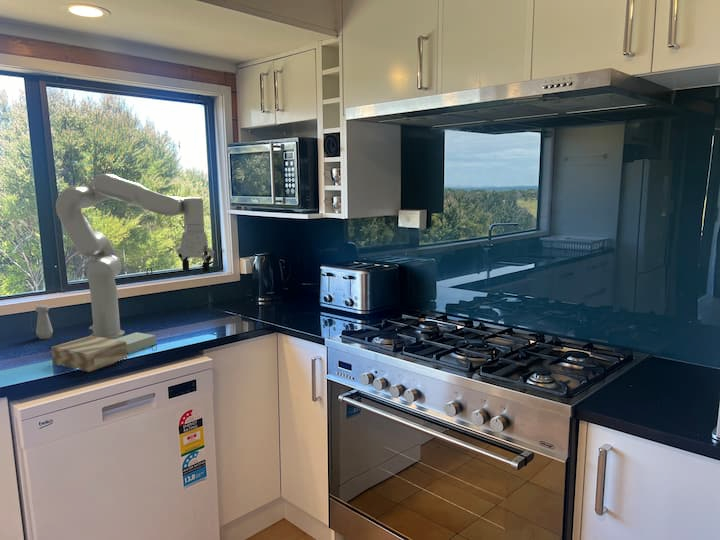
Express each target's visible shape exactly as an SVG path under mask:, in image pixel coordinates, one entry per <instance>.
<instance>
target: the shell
mask: <svg viewBox="0 0 720 540" xmlns="http://www.w3.org/2000/svg"><path fill="white" fill-rule="evenodd" d="M156 336H157V335H154V334H150V333H143V332H137V331H135V332H132V333H130V334H125V335H124V336H122V337H119V338H116V339H113V340H119V341H124V342H126V346H127V353H129V354H132V353H134V351H135V352H139V351H141V350H143V348H144V349H147V348H149V346H150V347H152V345H153V346H156V345H157V337H156ZM155 344H156V345H155ZM146 347H147V348H146ZM140 349H141V350H140ZM131 352H132V353H131Z"/></svg>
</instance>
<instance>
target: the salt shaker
mask: <svg viewBox="0 0 720 540" xmlns="http://www.w3.org/2000/svg"><path fill="white" fill-rule="evenodd" d="M49 310H50V308H49V305H48V304H47V305H45V304H41V305H37V306H36V307H35V312H36V313H37V321H36V329H35V334H36V336H37V337H38V338H39V340H46V339H50V338H52V337H53V336H52V335H53V333H54V329H53V326H52V323H51V320H50V316H49V313H48V312H49Z"/></svg>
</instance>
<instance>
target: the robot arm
mask: <svg viewBox="0 0 720 540" xmlns="http://www.w3.org/2000/svg"><path fill="white" fill-rule="evenodd" d="M109 199H112V200H116V201H120V202H121V203H125V204H128V205H132V206H135V207H137V208H140V209H144V210H146V211H148V212H152V213H155V214H157V215H158V214H159V215H162V216H165V217H170V218H171V217H175V216H180V215H183V223H184V224H183V225H182V229H184V231H183V232H182V235H181V239H180V240H181V243H180V247H178V248H177V249H176V253H177V255H178V257H179V259H180V261H181V262H182V263H181V264H182V271H184V272H185V271H189V270H190V261H189V258H193V259H194V258H201V260H202V261H203V262H202V272H203V273H208V272H210V262H211V260H212V259H213V258H214V255H215V251H214V250H213V249H212V248H211V247H209V242H208V238H207V233H206V231H205V220H204V219H205V217H204V200H203V198H202V197H198V196H188V197H187V196H186V197H180V196H169V195H165V194H162V193H159V192H155V191H153V190H151V189H148V188H146V187H145V186H144V185H142V184H140V183H138V182H134V181H130V180H127V179H124V178H121V177H119V176H118V175H116V174H113V173H101V174H98V175H96V177H95V178H94V180H93V181H91V182H89V183H87V184H84V185H75V186H74V185H73V186H68V187H67V188H65V189H63V190H62V191H61V192H60V193H59V195H58V196H57V198H56V201H55V202H56V203H55V211H56V215H57V216H58V219H59V221H60V222H61V224H62V226H63V227H64V229H65V231H66V233H67V235H68V237H69V238H70V240H71V242H72V244H73V246H74V248H75V249H76V252H77V253H78V254H79V255H81V256H82V257H84V258H90V259H91V260H92V261H91V262H89V264H88V266H87V268H86V276H87V277H86V278H87V280H88V284H89V285H88V286H89V292H90V302H91V303H90V304H91V313H92V325H90V326H89V327H88V329H89V330H91V331H92V333H90V335H89V336H96V337H102V338H107V339H116V338H120V337H123V336H125V335H126V334H125V333H126V332H125V330H123V329H121V321H120V311H119V308H120V307H119V298H118V297H119V296H118V288H117V283H116V279H115V277H118V275H120V273H121V272H122V266H123V265H122V262H121V260H120V257H119V256H118V254H117V252H116V250H115V249H114V246H113V245H112V243H111V241H110V240H109V238H108V236H106V235H105V234H104V233H103V232H101V231H98V230H94V229H93V227H92V225H91V224H90V222H89V219H88V218H87V217H86V216H85V215H84V214H83V212H82V211H83V210H82V209H85V208H86V209H87V208H91V207H93V206H96V205H98V204H100V203H102V202H105V201H107V200H109Z"/></svg>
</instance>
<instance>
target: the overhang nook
mask: <svg viewBox="0 0 720 540" xmlns="http://www.w3.org/2000/svg"><path fill="white" fill-rule="evenodd" d="M51 357H52V364H53V365H56V364H57V365H56V366H60V365H62V366H61V367H65V366H68V367H67V368H69V367H73V368H72V369H74V368H79V369H82V370H81V371H83V372H87V373H90V372H94V371H96V370H98V369H101V368H104V367H107V366H110V365H112V364H116V363H118V362H117V361H119V360H121V359H124V358H127V359H128V354H127V346H126V342H124V341H119V340H113V339H107V338H102V337H96V336H90V335H88V336H84V337H81V338H78V339H75V340H70V341H67V342H63V343H60V344H57V345H53V346H51ZM124 360H125V359H124ZM115 362H116V363H115ZM119 362H120V361H119Z"/></svg>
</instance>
